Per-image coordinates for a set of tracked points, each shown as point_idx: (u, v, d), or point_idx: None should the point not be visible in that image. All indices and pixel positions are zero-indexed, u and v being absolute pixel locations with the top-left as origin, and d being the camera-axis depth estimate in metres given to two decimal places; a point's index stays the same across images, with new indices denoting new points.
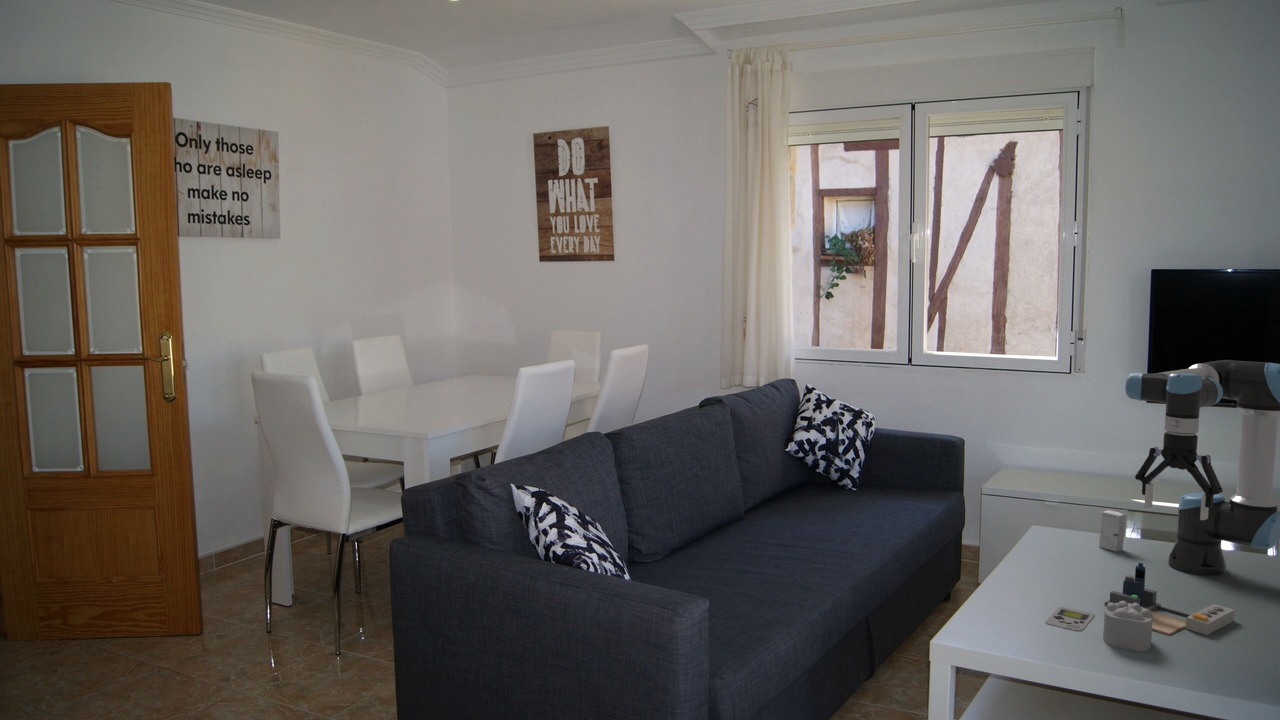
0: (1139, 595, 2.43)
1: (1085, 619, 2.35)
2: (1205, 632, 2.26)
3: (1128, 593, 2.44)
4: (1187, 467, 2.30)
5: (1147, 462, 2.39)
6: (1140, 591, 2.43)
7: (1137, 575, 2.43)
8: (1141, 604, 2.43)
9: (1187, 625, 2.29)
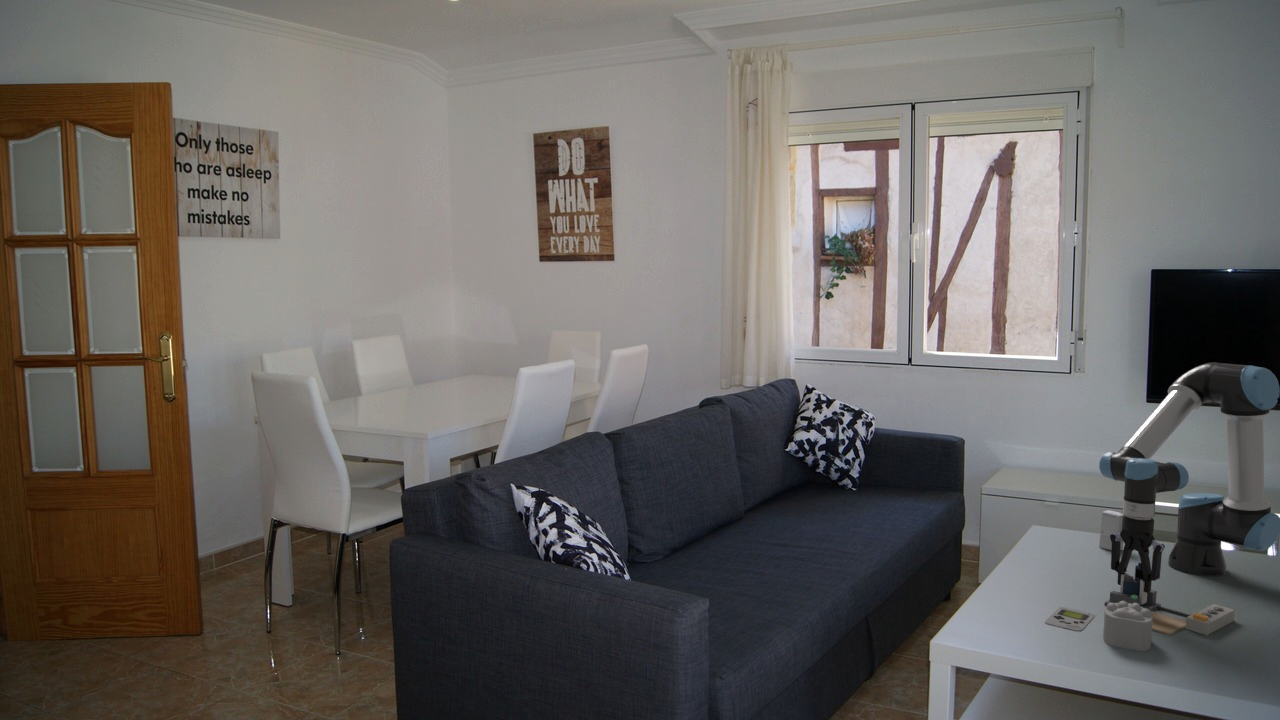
0: None
1: (1085, 619, 2.35)
2: (1205, 632, 2.26)
3: (1128, 593, 2.44)
4: (1140, 551, 2.41)
5: (1114, 549, 2.47)
6: (1139, 591, 2.43)
7: (1137, 575, 2.43)
8: (1141, 604, 2.43)
9: (1187, 625, 2.29)
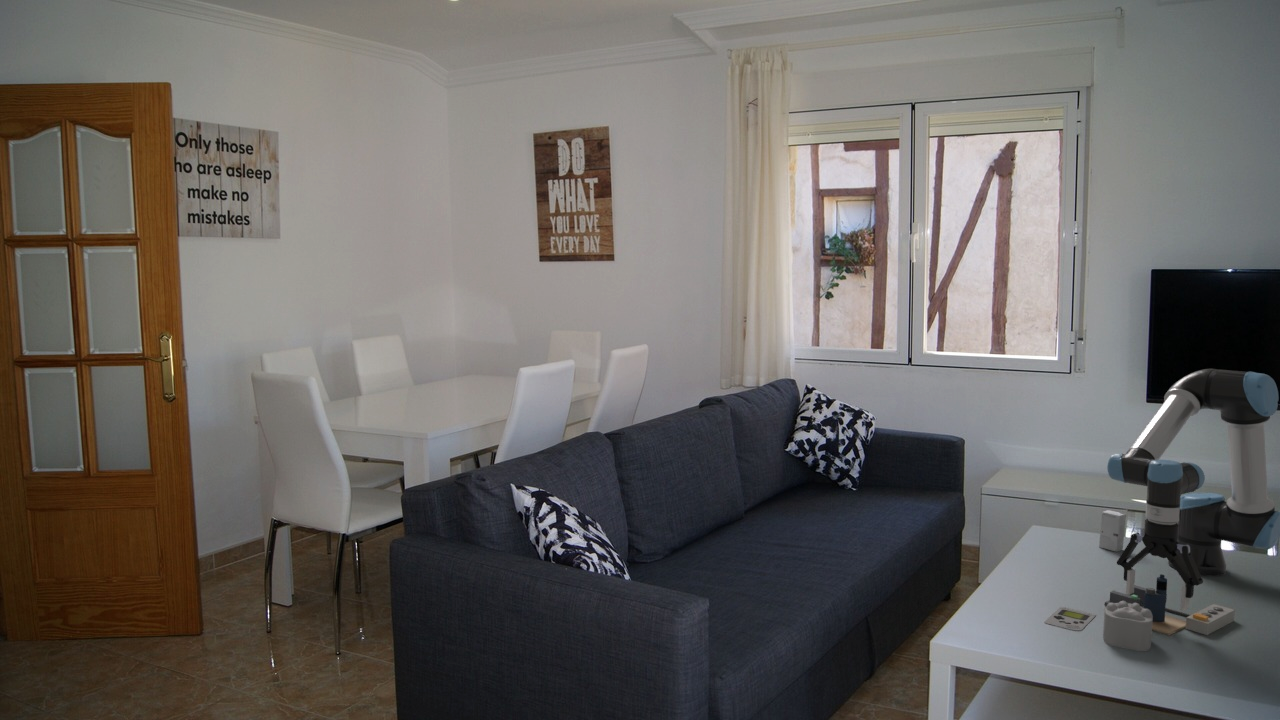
0: (1161, 608, 2.32)
1: (1085, 619, 2.35)
2: (1205, 632, 2.26)
3: (1150, 606, 2.33)
4: (1168, 556, 2.28)
5: (1128, 548, 2.37)
6: (1162, 604, 2.32)
7: (1159, 587, 2.32)
8: (1163, 618, 2.32)
9: (1187, 625, 2.29)
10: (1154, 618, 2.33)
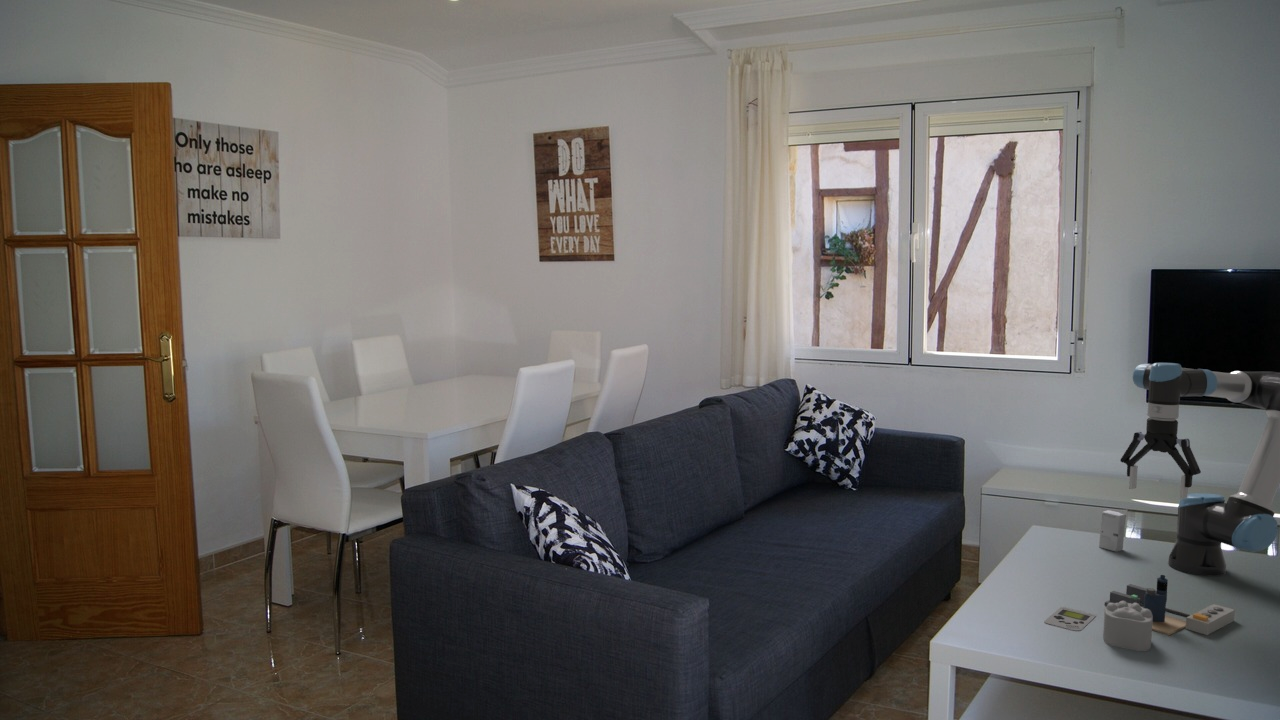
0: (1161, 609, 2.32)
1: (1085, 619, 2.34)
2: (1205, 632, 2.26)
3: (1150, 607, 2.32)
4: (1168, 450, 2.48)
5: (1131, 446, 2.56)
6: (1162, 604, 2.32)
7: (1159, 588, 2.32)
8: (1163, 618, 2.32)
9: (1187, 625, 2.29)
10: (1154, 618, 2.33)
